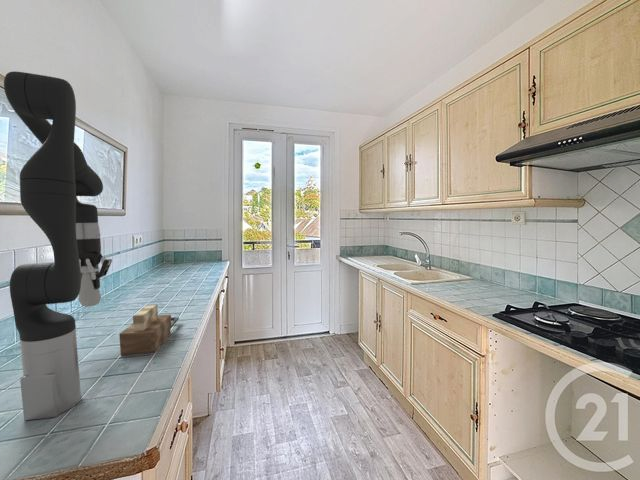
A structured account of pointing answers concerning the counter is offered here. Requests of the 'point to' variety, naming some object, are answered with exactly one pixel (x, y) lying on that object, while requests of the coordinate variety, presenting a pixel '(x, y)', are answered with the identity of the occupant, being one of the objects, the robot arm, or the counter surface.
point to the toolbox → (145, 341)
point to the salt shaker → (88, 289)
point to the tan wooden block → (147, 322)
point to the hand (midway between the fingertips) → (89, 290)
